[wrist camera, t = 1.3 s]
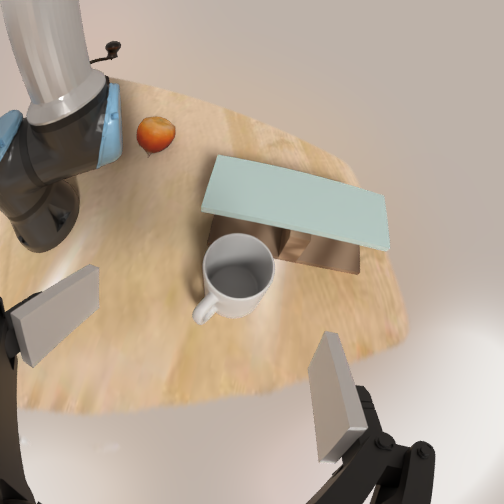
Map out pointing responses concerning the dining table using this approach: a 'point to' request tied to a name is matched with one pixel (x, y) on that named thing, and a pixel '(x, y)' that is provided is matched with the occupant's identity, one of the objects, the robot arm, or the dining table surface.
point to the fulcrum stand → (293, 244)
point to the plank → (296, 202)
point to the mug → (234, 277)
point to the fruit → (155, 134)
